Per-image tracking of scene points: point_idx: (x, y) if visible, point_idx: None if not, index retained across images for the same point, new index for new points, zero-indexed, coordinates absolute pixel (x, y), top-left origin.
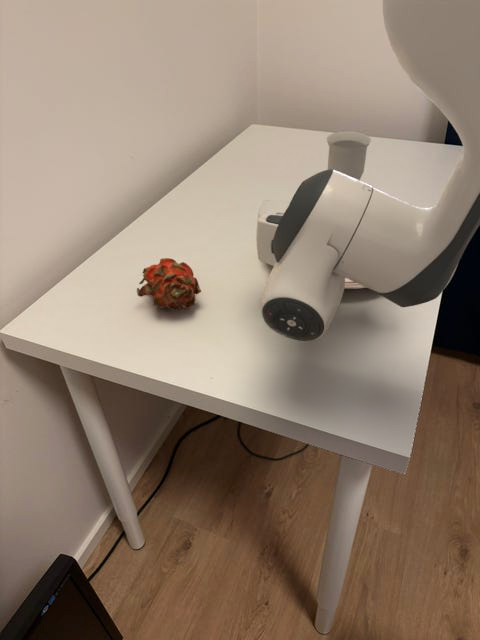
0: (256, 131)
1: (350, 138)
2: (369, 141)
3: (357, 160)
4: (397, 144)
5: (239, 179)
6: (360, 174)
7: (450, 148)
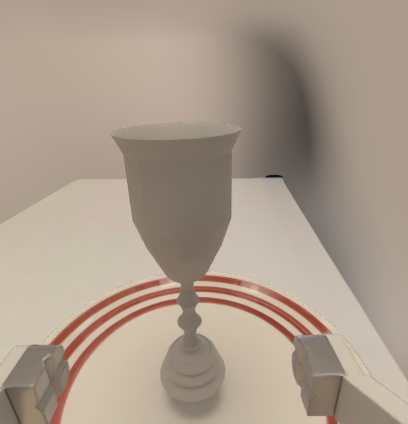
0: (76, 184)
1: (180, 138)
2: (235, 130)
3: (216, 182)
4: None
5: (34, 241)
6: (227, 221)
7: (269, 180)
